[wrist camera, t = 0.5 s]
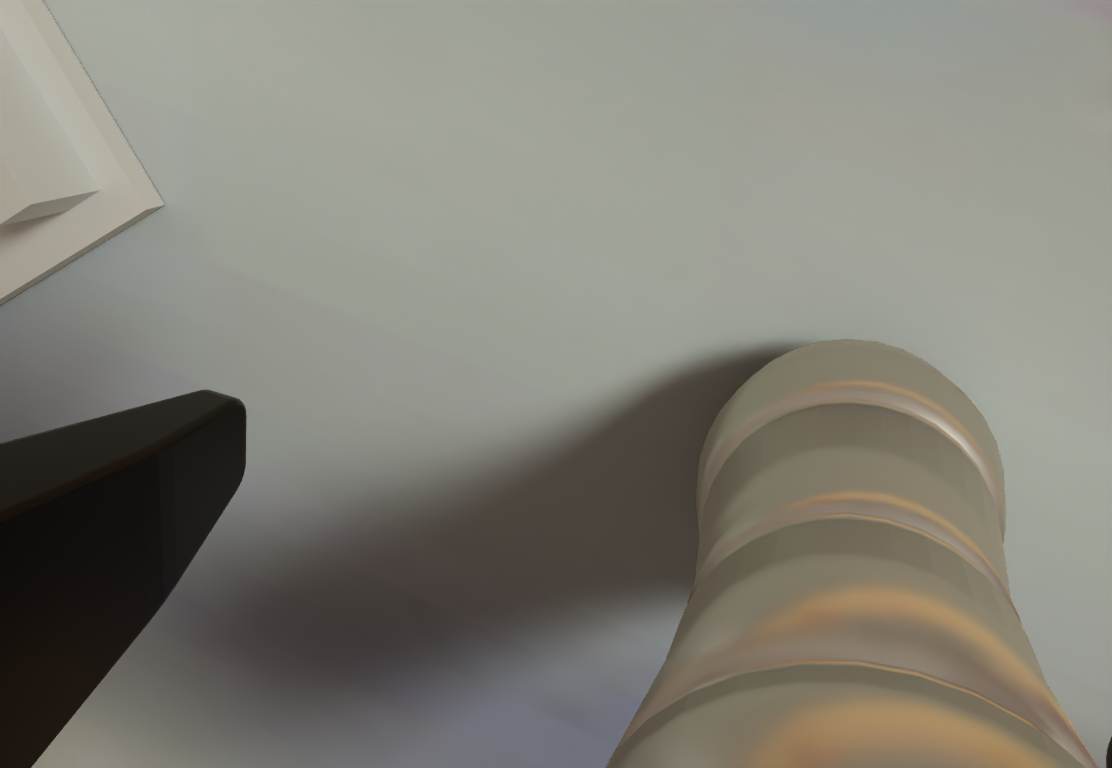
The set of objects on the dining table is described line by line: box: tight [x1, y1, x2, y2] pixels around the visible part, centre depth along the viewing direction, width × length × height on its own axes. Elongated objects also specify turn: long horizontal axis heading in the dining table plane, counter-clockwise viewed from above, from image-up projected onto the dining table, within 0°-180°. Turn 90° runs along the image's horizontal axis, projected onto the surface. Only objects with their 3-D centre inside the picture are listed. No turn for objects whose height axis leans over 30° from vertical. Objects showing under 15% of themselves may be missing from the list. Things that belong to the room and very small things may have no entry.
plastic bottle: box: [605, 339, 1098, 768], centre depth 14 cm, size 6×7×20 cm
